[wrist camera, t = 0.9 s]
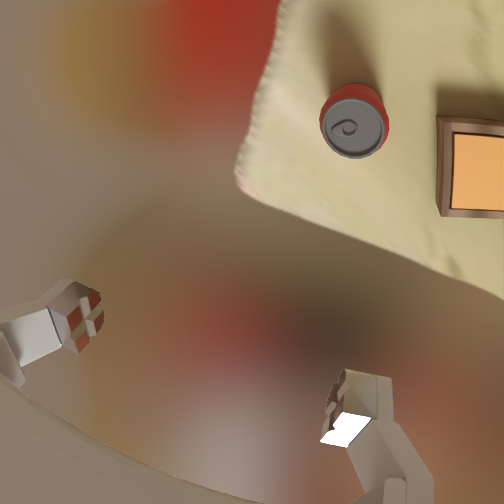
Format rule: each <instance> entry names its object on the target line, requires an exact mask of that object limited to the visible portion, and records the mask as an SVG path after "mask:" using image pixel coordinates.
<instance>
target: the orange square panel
mask: <svg viewBox="0 0 504 504" xmlns="http://www.w3.org/2000/svg"><path fill="white" fill-rule="evenodd" d="M450 205H451V207H452V208H464V209H486V210H504V136H496V135H486V134H474V133H460V132H452V177H451V195H450Z"/></svg>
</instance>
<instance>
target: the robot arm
mask: <svg viewBox="0 0 504 504" xmlns="http://www.w3.org/2000/svg"><path fill="white" fill-rule="evenodd" d="M100 302H101V296H100V292H98V291H96V290H94V289H92V288H89V287H87V286H85V285H83V284H81V283H79V282H77V281H74V280H72V279H70V278H68V277H65V278H62V279H61V280H60V281H58V282H57V283H56V284H55V285H54V286H53V287H52V288H51V289H49V290H48V291H47V292H46V293H45V294H44V295H42V297H40V298H39V299H38V300H37V301H34V300H32V301H29V302H25V303H22V304H19V305H16V306H13V307H9V308H6V309H3V310H0V504H264V503H259V502H255V501H251V500H247V499H244V498H239V497H236V496H232V495H229V494H226V493H222V492H219V491H216V490H213V489H210V488H207V487H204V486H201V485H198V484H195V483H192V482H189V481H187V480H184V479H181V478H179V477H176V476H173V475H171V474H169V473H166V472H164V471H161V470H159V469H157V468H154V467H152V466H150V465H148V464H145V463H143V462H141V461H139V460H137V459H134V458H132V457H130V456H128V455H126V454H124V453H122V452H120V451H118V450H116V449H114V448H112V447H111V446H108V445H107V444H105V443H103V442H101V441H99V440H98V439H96V438H94V437H92V436H91V435H89V434H87V433H85V432H84V431H82V430H80V429H79V428H77V427H75V426H74V425H72V424H71V423H69V422H67V421H66V420H64V419H63V418H61V417H60V416H58V415H57V414H55V413H53V412H52V411H51V410H49V409H48V408H46V407H45V406H43V405H42V404H41V403H39V402H38V401H37V400H35V399H34V398H32V397H31V396H29V395H28V394H27V393H26V392H24V391H23V390H21V389H20V386H21V385H22V384H23V383H24V381H25V380H26V375H25V373H24V372H23V370H22V368H21V367H22V366H24V365H26V364H28V363H30V362H32V361H34V360H36V359H38V358H40V357H42V356H44V355H46V354H48V353H51V352H53V351H55V350H57V349H59V348H60V347H62V346H63V347H65V348H67V349H68V350H71V351H72V352H74V353H76V354H78V355H80V353H81V352H82V351H83V350H84V349H85V347H86V346H87V345H88V344H89V343H90V337H91V336H93V335H96V334H97V333H98V332H99V330H101V328H102V326H103V323H104V317H105V315H104V310H103V308H102V307H101V306H100V304H99V303H100ZM325 412H326V414H327V416H328V418H327V419H326V421H325V422H324V424H323V431H322V437H321V442H326V443H330V444H335V445H340V446H346V449H347V451H348V454H349V456H350V459H351V461H352V463H353V466H354V468H355V470H356V473H357V475H358V477H359V480H360V482H361V484H362V487H363V489H364V492H365V494H364V495H362V496H360V497H359V498H357V499H355V500H354V501H352V502H350V503H349V504H433V498H434V496H433V495H434V485H433V484H434V482H433V481H434V480H433V477H432V475H431V474H430V472H429V471H428V469H427V468H426V466H425V464H424V463H423V461H422V460H421V458H420V457H419V455H418V454H417V452H416V451H415V449H414V447H413V446H412V444H411V443H410V441H409V440H408V438H407V437H406V435H405V433H404V432H403V430H402V429H401V427H400V426H399V424H398V423H395V422H393V395H392V380H391V378H388V377H383V376H378V375H373V374H369V373H363V372H358V371H353V370H349V369H343V370H342V372H341V374H340V375H339V381H338V383H336V384H334V386H333V387H332V389H331V392H330V394H329V397H328V400H327V405H326V410H325Z"/></svg>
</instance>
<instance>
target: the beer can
mask: <svg viewBox="0 0 504 504" xmlns="http://www.w3.org/2000/svg"><path fill="white" fill-rule="evenodd" d="M319 121H320V130H321V132H322V134H323V137H324V139H325V141H326V143H327V144H328V145H329V146H330V147H331V149H332V150H333V151H335V152H336V153H338V154H339V155H341V156H344V157H347V158H350V159H361V158H364V157H367V156H370V155H371V154H373V153H374V152H376V151H377V150H378V149H380V148H381V146H382V145H383V144H384V142H385V141H386V139H387V136H388V132H389V118H388V115H387V113H386V110H385V107H384V105H383V102H382V100H381V97H380V96H379V95H378V94H377V93H376V91H375V90H373V89H372V88H370V87H369V86H367V85H364V84H360V83H349V84H347V85H344V86H342V87H340V88H339V89H338V90H337V91H335V92H334V93H333V94H332V95H331V96H330V97H329V98H328V100H327V101H326V102H325V104H324V106H323V107H322V109H321V113H320V118H319Z"/></svg>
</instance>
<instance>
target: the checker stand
mask: <svg viewBox="0 0 504 504" xmlns="http://www.w3.org/2000/svg"><path fill="white" fill-rule="evenodd" d="M436 122H437V189H436V204H437V207H438V210H439V213H440V215H441V217H468V218H491V219H504V210H486V209H464V208H452V207H451V205H450V195H451V177H452V132H460V133H474V134H486V135H496V136H504V121H496V120H487V119H477V118H465V117H450V116H436Z"/></svg>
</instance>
